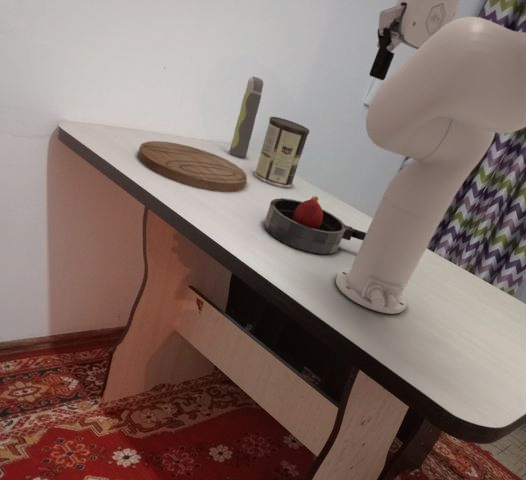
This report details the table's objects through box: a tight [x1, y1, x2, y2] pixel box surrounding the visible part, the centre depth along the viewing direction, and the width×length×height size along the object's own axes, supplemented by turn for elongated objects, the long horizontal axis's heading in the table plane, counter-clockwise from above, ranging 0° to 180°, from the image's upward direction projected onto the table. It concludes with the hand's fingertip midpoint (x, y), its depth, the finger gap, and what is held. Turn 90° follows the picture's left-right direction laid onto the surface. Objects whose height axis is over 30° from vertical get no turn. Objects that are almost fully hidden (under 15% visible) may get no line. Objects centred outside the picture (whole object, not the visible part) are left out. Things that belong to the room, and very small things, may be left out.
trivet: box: [137, 140, 248, 193], centre depth 107 cm, size 25×25×2 cm
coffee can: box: [254, 116, 310, 188], centre depth 117 cm, size 10×10×14 cm
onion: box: [293, 195, 323, 229], centre depth 90 cm, size 6×6×8 cm
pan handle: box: [342, 224, 367, 242], centre depth 92 cm, size 2×12×2 cm, turn 87°
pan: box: [263, 197, 347, 255], centre depth 91 cm, size 16×16×4 cm
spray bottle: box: [229, 76, 264, 159], centre depth 126 cm, size 5×5×20 cm
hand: (394, 84), depth 80 cm, fingers open, 9 cm apart
